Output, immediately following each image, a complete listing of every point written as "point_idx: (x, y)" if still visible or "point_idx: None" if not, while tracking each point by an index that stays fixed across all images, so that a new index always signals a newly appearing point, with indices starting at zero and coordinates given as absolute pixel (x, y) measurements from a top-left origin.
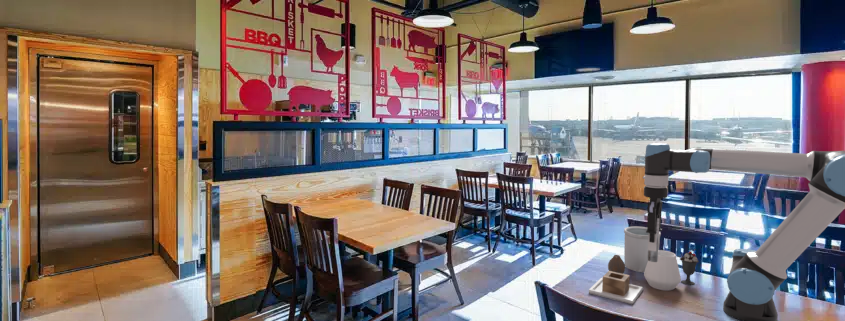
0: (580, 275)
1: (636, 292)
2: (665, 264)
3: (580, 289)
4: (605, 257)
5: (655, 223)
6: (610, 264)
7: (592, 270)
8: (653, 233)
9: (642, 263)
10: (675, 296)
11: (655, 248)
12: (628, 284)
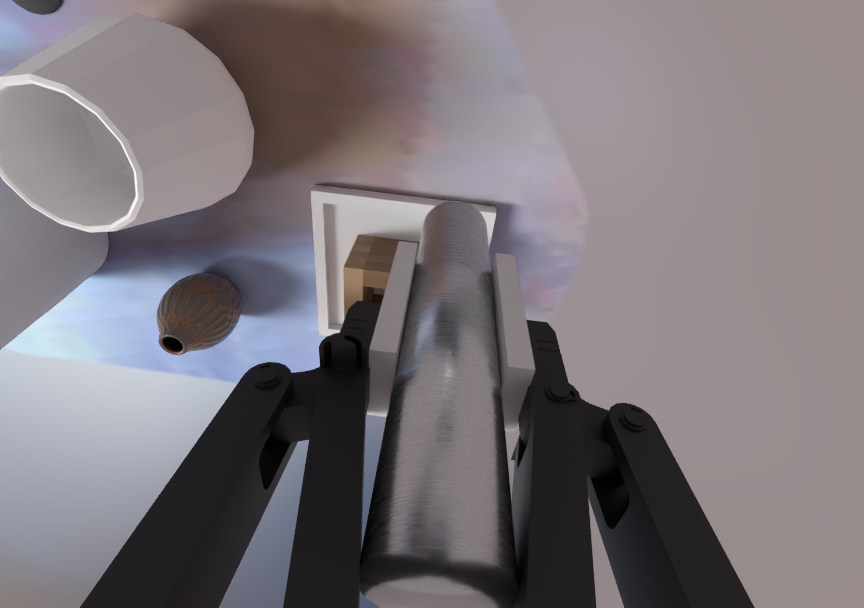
0: None
1: (393, 208)
2: (169, 127)
3: None
4: (61, 344)
5: (673, 540)
6: (223, 338)
7: (242, 361)
8: (591, 406)
9: (64, 225)
10: (281, 33)
11: (514, 273)
12: (368, 249)
